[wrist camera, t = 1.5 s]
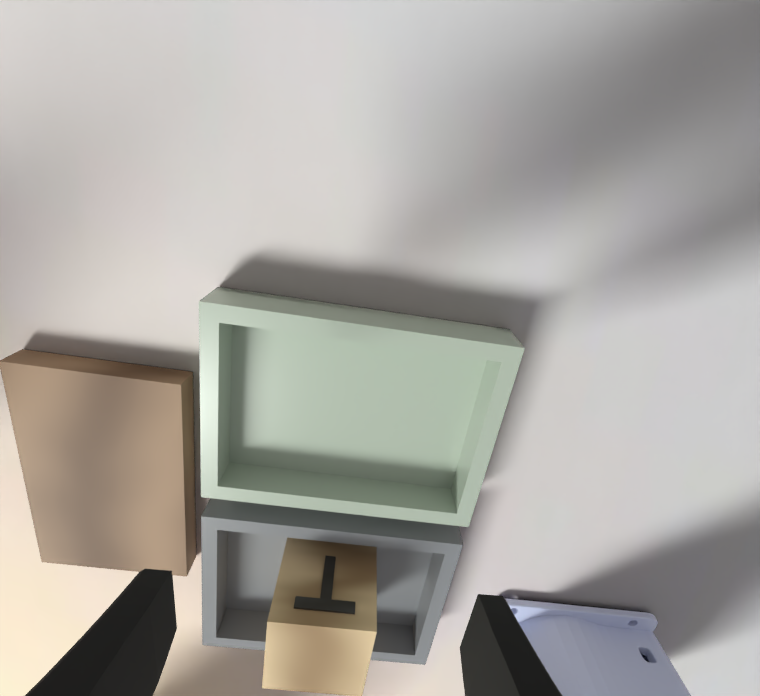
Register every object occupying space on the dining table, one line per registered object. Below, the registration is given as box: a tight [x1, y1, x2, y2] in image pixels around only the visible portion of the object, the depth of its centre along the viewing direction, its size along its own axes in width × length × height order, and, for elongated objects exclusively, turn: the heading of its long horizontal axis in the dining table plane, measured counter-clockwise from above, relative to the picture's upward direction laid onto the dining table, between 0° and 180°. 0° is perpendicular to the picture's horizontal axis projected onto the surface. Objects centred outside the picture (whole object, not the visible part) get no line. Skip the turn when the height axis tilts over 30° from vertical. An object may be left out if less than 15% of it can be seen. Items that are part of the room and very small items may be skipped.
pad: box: [0, 349, 196, 576], centre depth 19 cm, size 7×11×1 cm, turn 171°
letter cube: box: [262, 537, 377, 696], centre depth 20 cm, size 4×5×4 cm
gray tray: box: [201, 498, 463, 665], centre depth 22 cm, size 12×9×2 cm
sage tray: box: [199, 287, 525, 527], centre depth 18 cm, size 12×9×2 cm
